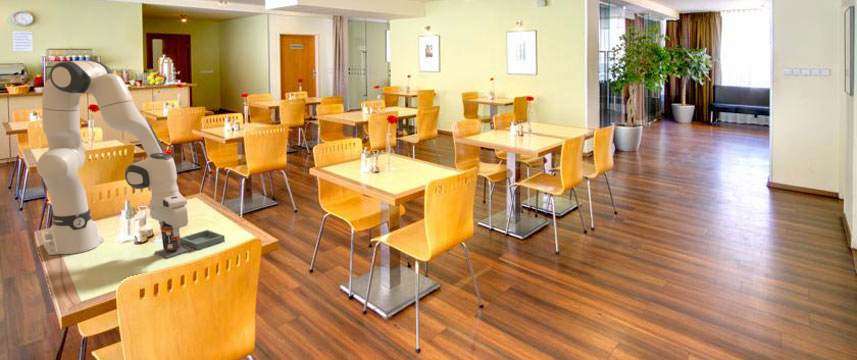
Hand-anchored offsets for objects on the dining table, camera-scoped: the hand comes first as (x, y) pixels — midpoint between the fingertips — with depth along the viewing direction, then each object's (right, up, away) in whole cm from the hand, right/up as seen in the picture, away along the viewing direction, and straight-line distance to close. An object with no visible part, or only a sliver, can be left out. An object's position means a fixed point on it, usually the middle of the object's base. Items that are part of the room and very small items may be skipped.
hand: (170, 233), depth 195 cm
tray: (+7, -5, +11) cm, 14 cm away
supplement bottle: (0, -6, +1) cm, 6 cm away
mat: (0, -7, +2) cm, 7 cm away
